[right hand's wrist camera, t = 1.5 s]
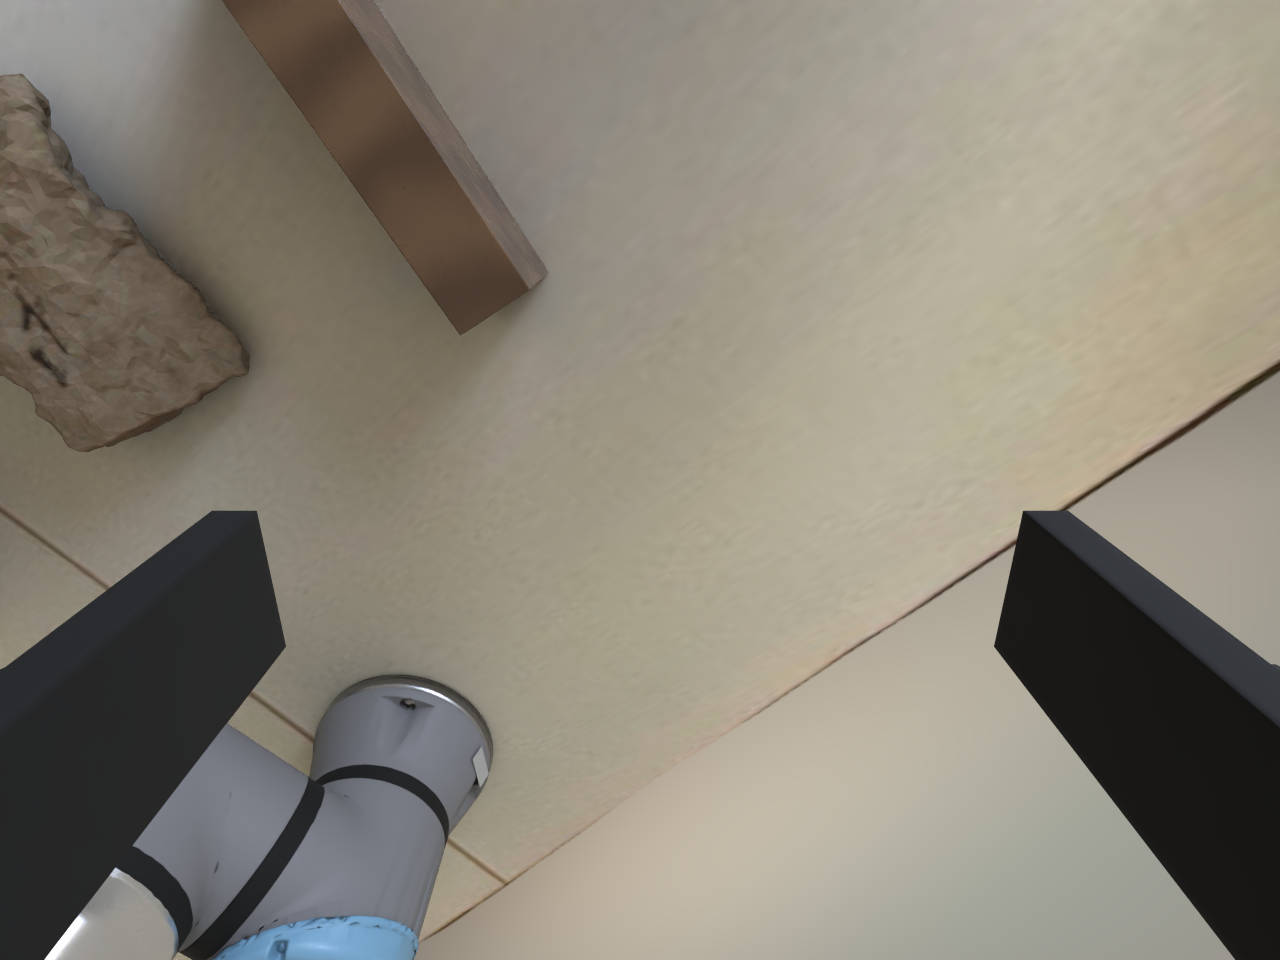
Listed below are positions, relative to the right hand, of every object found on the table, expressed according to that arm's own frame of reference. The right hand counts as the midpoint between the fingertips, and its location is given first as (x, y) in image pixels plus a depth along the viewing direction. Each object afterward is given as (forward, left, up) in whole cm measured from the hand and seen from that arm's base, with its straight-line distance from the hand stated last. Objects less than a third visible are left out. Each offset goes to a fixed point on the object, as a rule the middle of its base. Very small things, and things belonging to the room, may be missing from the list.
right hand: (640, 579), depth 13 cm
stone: (-32, +20, -40) cm, 55 cm away
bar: (-8, +17, -40) cm, 45 cm away
